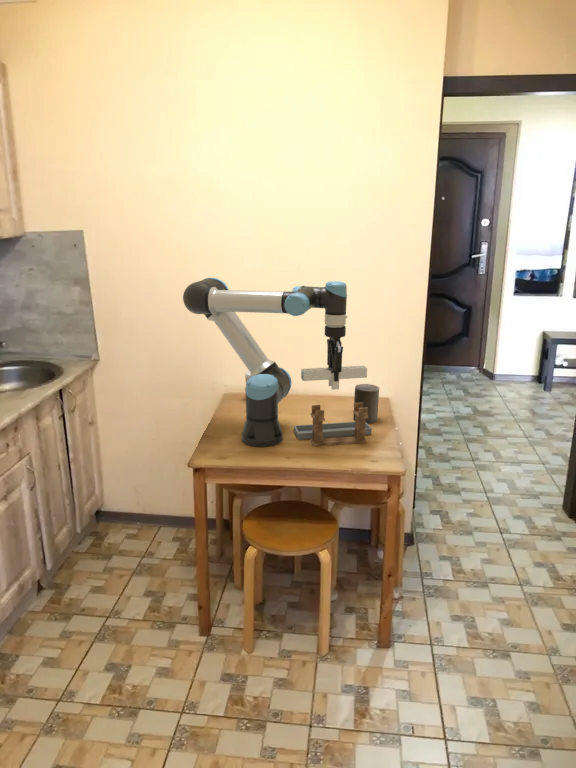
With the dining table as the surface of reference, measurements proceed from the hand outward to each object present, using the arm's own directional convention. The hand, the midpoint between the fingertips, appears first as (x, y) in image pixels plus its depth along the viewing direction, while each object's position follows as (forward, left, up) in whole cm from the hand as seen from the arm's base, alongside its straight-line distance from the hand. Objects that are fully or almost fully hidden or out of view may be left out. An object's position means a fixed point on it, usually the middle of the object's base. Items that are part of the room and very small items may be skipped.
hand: (333, 387), depth 227 cm
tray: (0, 0, -18) cm, 18 cm away
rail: (0, 0, +4) cm, 4 cm away
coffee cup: (-23, +45, -19) cm, 54 cm away
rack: (0, -9, -18) cm, 20 cm away
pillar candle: (+17, +12, -19) cm, 28 cm away
